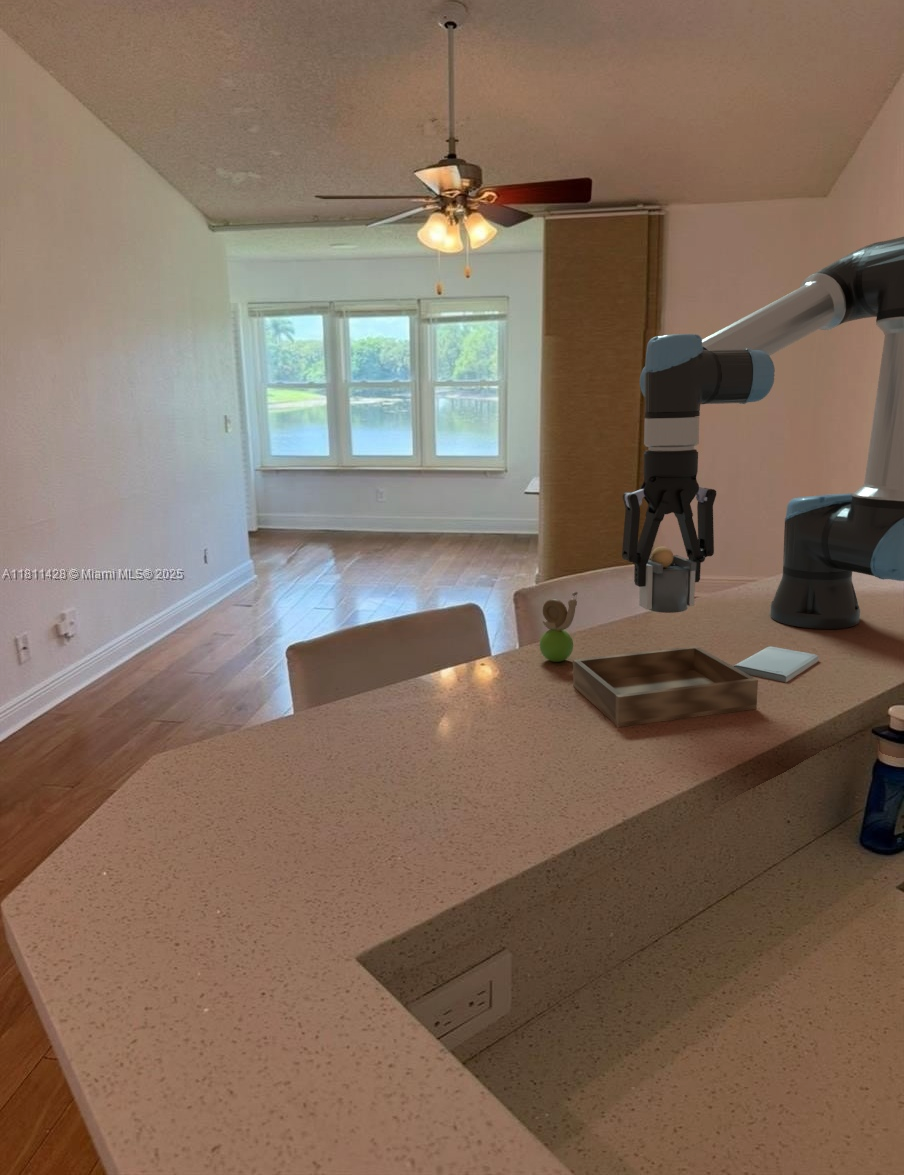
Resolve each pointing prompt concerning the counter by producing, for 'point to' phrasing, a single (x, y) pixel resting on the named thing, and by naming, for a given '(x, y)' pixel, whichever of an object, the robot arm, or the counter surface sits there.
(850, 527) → the robot arm
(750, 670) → the hard drive
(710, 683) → the tray
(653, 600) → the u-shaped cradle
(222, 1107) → the counter surface
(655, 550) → the ball
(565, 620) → the snail figurine
